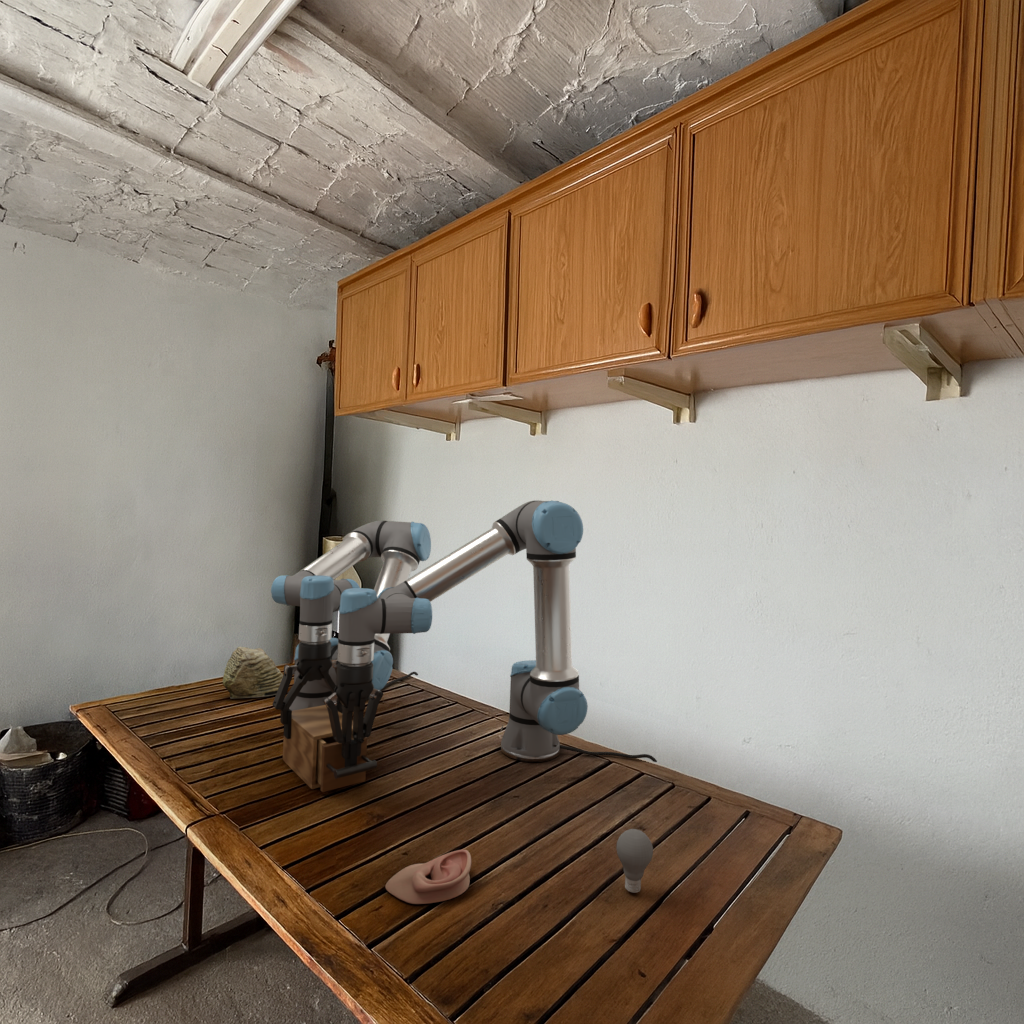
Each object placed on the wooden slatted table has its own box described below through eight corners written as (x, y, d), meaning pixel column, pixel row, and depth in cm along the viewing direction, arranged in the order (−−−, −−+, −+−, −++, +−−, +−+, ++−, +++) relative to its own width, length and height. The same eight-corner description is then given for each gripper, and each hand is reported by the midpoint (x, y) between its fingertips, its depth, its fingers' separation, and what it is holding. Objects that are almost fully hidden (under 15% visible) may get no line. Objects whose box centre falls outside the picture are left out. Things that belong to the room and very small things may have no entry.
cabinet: (359, 777, 144) (361, 726, 144) (311, 789, 137) (313, 736, 137) (326, 750, 158) (328, 704, 158) (282, 760, 151) (284, 712, 151)
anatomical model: (378, 873, 101) (404, 836, 112) (377, 898, 101) (403, 858, 112) (458, 887, 98) (477, 848, 109) (457, 912, 98) (476, 870, 109)
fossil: (218, 695, 195) (220, 647, 195) (278, 685, 208) (279, 640, 207) (228, 703, 189) (230, 653, 188) (289, 692, 201) (290, 645, 201)
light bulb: (610, 879, 108) (613, 822, 108) (644, 879, 109) (647, 822, 109) (619, 902, 102) (622, 840, 102) (655, 901, 103) (658, 840, 103)
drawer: (377, 791, 135) (379, 746, 135) (334, 803, 129) (335, 756, 129) (333, 754, 153) (335, 714, 153) (293, 763, 147) (295, 722, 147)
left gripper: (270, 649, 141) (266, 747, 141) (367, 639, 156) (364, 727, 156) (259, 643, 147) (256, 736, 147) (354, 633, 162) (350, 718, 162)
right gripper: (332, 670, 127) (327, 786, 128) (391, 662, 135) (386, 771, 136) (318, 661, 133) (313, 772, 134) (375, 654, 141) (370, 759, 142)
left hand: (311, 732), depth 152 cm, fingers closed on cabinet, 11 cm apart
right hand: (350, 772), depth 135 cm, fingers closed
